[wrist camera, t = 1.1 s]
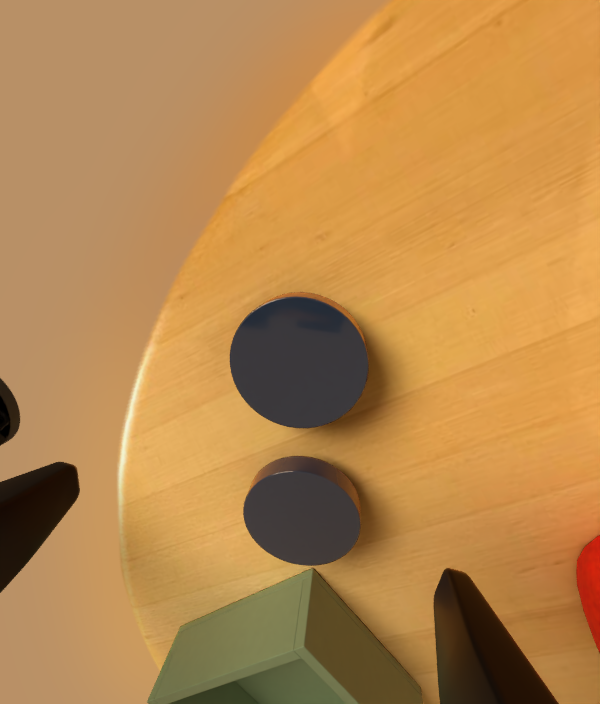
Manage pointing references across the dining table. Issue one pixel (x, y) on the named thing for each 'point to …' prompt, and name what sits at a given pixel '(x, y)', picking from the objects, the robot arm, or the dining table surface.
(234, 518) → the dining table surface
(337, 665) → the tub
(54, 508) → the robot arm
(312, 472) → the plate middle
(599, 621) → the apple
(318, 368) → the dark round disc
